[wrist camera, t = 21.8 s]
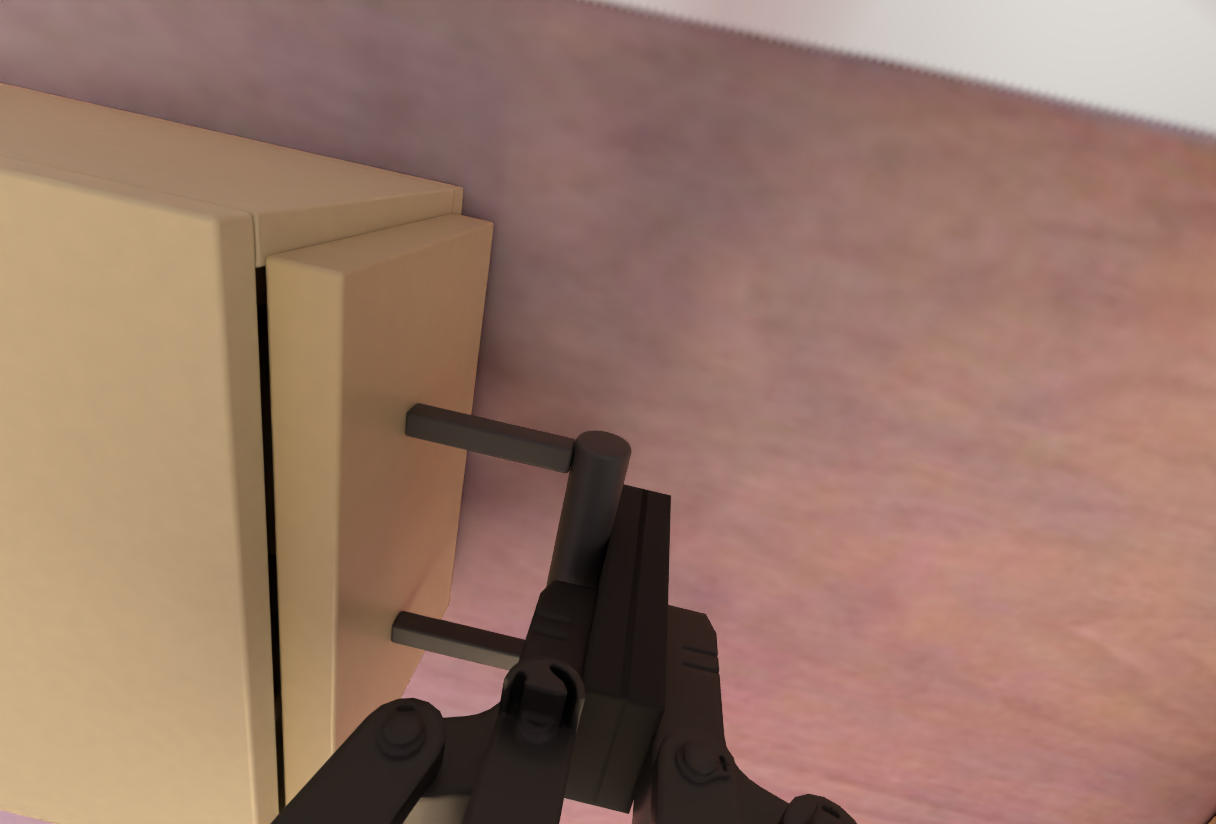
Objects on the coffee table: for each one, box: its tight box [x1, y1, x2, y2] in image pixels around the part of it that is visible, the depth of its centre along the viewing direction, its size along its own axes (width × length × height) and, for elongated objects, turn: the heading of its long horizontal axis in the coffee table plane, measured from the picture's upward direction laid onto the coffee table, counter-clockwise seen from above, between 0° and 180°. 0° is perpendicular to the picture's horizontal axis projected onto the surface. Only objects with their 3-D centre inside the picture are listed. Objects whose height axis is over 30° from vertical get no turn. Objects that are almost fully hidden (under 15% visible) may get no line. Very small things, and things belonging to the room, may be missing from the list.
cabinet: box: [0, 83, 464, 824], centre depth 15 cm, size 16×15×10 cm
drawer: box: [255, 213, 631, 807], centre depth 15 cm, size 19×13×8 cm
